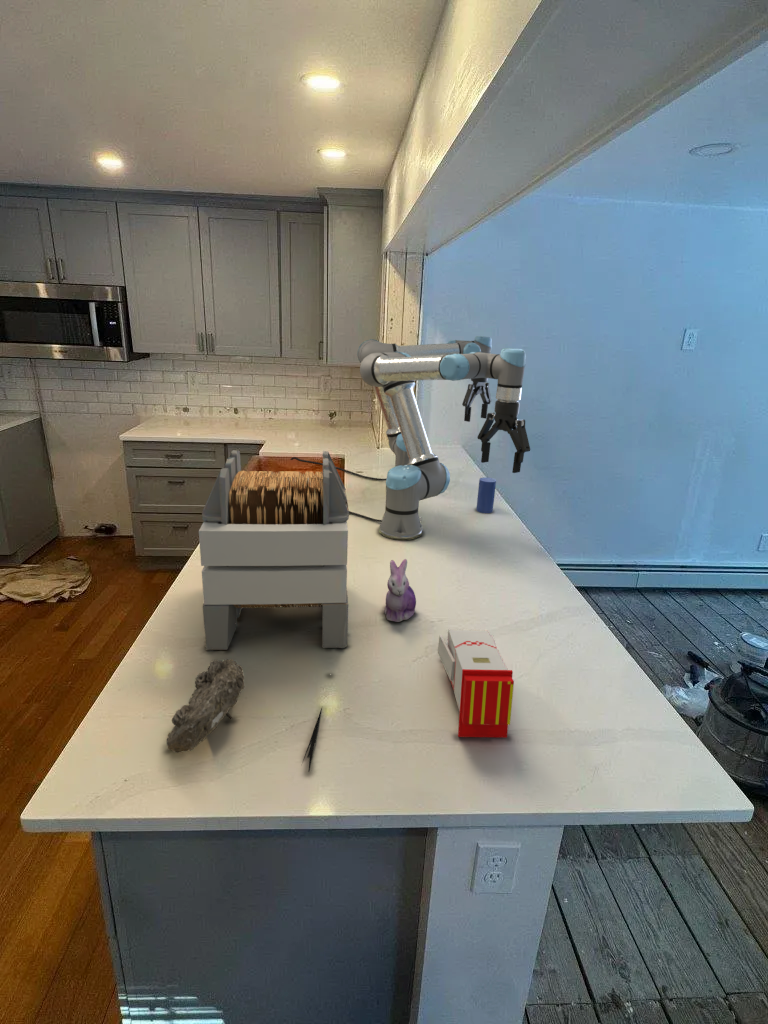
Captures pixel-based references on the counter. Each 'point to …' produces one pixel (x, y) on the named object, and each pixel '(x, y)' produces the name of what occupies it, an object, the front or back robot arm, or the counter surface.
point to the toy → (478, 682)
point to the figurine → (399, 594)
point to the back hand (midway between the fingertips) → (475, 419)
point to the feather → (313, 740)
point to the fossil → (206, 705)
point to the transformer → (274, 548)
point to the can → (486, 495)
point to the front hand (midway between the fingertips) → (499, 467)
